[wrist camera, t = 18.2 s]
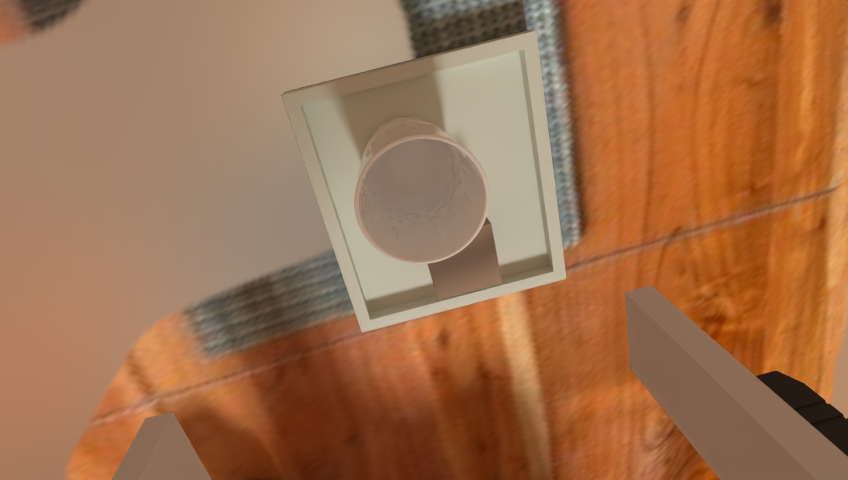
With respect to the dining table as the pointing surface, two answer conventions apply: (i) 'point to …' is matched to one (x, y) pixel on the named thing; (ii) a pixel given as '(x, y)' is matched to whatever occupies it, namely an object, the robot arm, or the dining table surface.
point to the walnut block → (468, 267)
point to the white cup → (419, 192)
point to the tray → (474, 129)
